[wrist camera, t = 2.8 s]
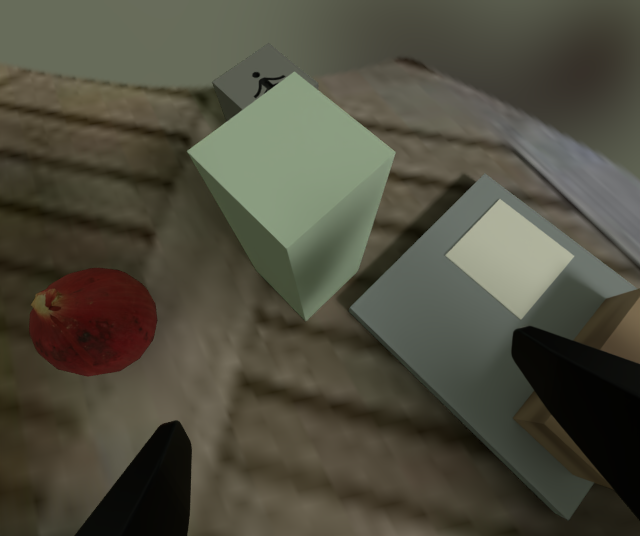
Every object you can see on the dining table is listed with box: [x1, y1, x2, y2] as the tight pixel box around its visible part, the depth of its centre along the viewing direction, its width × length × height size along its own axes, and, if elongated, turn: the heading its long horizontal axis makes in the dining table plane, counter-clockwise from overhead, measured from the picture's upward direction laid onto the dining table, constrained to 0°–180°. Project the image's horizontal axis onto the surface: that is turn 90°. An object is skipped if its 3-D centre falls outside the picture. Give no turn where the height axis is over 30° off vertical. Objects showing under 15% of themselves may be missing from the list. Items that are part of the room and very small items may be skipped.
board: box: [349, 174, 637, 521], centre depth 22 cm, size 14×16×1 cm
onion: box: [29, 268, 157, 376], centre depth 19 cm, size 6×6×8 cm
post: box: [187, 71, 396, 321], centre depth 18 cm, size 5×5×13 cm
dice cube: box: [212, 43, 318, 121], centre depth 25 cm, size 5×5×5 cm
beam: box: [513, 288, 640, 490], centre depth 19 cm, size 10×4×3 cm, turn 134°
